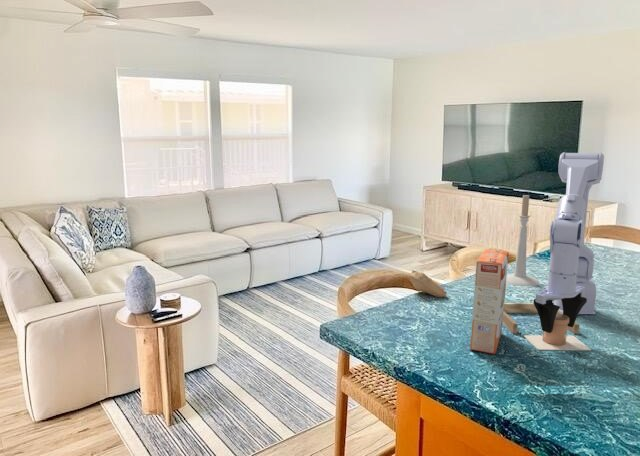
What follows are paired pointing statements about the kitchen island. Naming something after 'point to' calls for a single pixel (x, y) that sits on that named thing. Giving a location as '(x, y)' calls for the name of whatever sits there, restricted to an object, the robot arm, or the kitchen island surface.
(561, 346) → the potting tile
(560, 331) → the terracotta pot
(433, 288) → the pottery oil lamp
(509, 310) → the wooden u-shaped frame
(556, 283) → the robot arm
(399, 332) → the kitchen island surface
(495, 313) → the cracker box
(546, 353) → the kitchen island surface
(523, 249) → the candlestick
